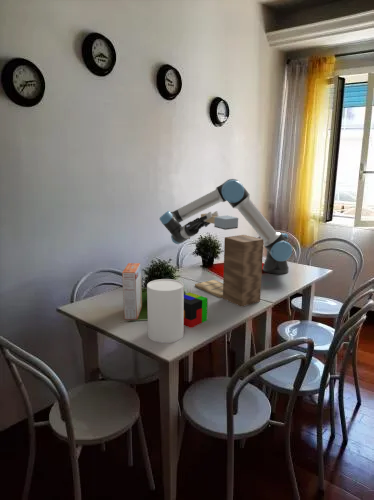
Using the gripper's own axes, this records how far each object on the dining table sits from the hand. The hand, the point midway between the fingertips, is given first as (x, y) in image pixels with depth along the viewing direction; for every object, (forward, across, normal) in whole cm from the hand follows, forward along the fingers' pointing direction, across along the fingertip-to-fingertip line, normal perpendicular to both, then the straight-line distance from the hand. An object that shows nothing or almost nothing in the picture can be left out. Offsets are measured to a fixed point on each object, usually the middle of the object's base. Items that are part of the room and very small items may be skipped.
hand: (214, 214), depth 189 cm
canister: (+10, +49, -50) cm, 71 cm away
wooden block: (+1, 0, -44) cm, 44 cm away
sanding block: (-1, 0, -6) cm, 6 cm away
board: (-15, 0, -36) cm, 39 cm away
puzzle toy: (+5, +34, -47) cm, 59 cm away
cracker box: (-12, +50, -38) cm, 64 cm away
